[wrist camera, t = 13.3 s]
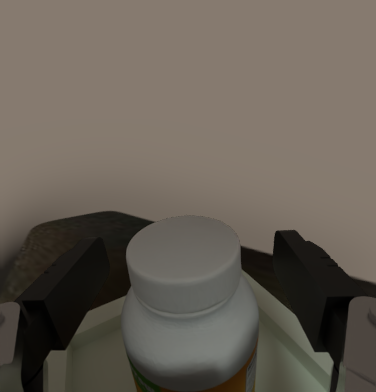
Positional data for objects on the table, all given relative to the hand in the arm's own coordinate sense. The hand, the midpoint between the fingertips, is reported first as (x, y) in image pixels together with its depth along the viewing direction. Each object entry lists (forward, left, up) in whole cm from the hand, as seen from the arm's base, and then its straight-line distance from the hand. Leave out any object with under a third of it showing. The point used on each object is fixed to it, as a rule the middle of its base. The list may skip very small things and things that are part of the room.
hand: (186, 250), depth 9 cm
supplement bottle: (+1, +2, -8) cm, 8 cm away
